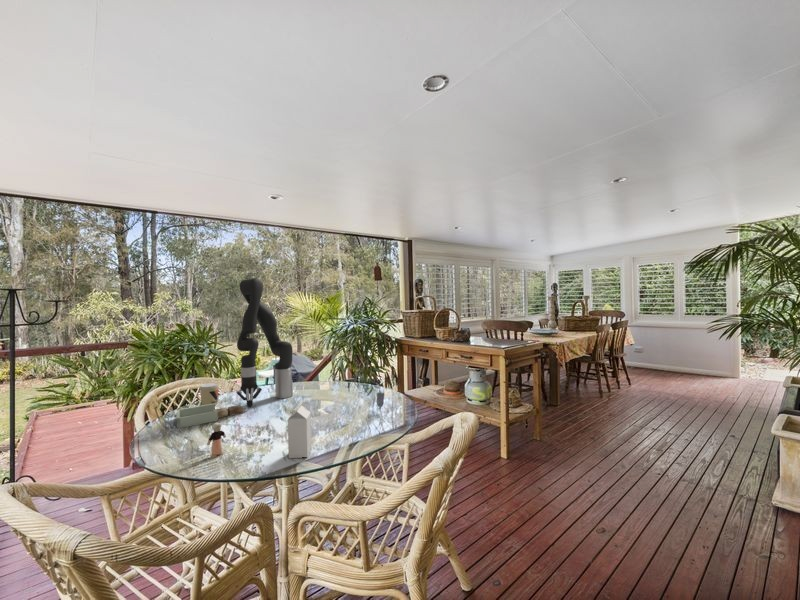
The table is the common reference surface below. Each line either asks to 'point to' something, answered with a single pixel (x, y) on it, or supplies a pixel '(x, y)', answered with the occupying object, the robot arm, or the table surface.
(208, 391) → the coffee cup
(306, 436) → the milk carton
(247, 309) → the robot arm
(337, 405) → the table surface
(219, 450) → the grandmother figurine
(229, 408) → the walnut tile
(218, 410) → the oak tile
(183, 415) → the grey-green tray
